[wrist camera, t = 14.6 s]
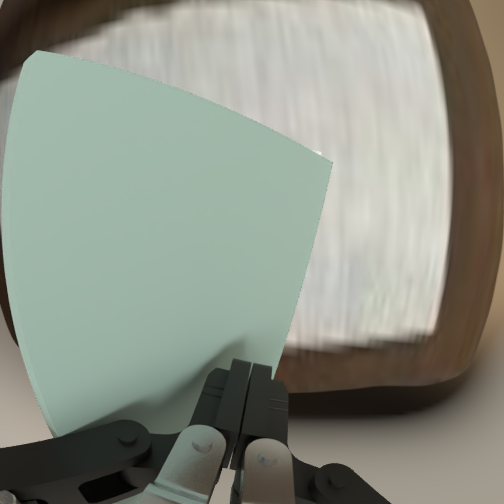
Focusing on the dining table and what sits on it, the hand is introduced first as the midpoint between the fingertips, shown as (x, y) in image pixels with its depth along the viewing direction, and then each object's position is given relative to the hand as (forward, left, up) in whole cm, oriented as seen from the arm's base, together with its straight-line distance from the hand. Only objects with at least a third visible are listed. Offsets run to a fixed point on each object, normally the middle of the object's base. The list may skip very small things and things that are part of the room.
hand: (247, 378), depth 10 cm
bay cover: (0, -2, -2) cm, 3 cm away
